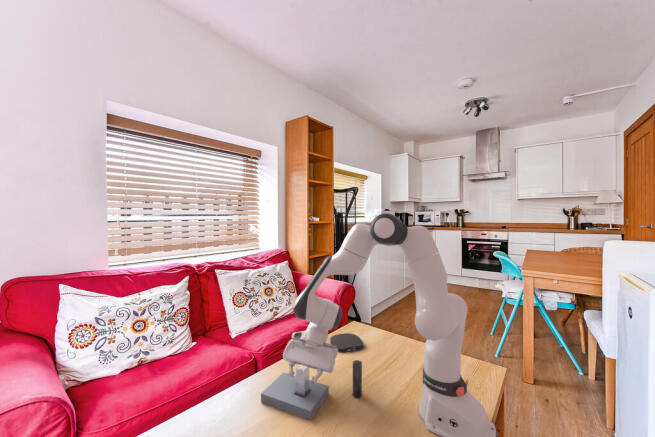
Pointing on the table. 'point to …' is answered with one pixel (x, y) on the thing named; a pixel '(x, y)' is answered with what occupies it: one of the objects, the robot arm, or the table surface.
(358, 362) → the round bit
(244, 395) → the table surface
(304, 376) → the square bit
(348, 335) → the media streaming box
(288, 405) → the socket board
